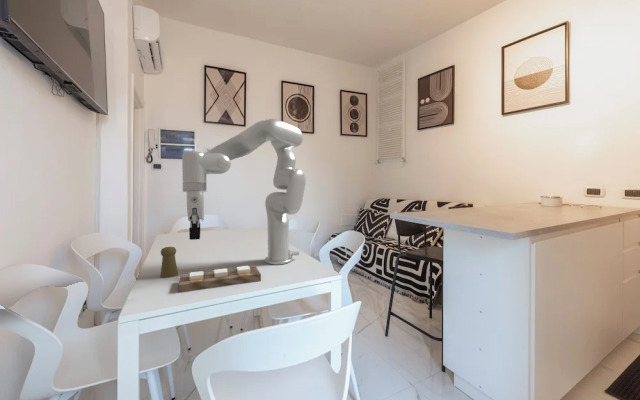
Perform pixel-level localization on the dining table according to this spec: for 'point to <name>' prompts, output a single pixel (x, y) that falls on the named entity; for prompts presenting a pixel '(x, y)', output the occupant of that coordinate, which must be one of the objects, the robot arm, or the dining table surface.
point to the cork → (168, 262)
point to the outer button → (196, 275)
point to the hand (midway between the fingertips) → (195, 236)
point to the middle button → (220, 272)
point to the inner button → (243, 270)
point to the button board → (218, 280)
